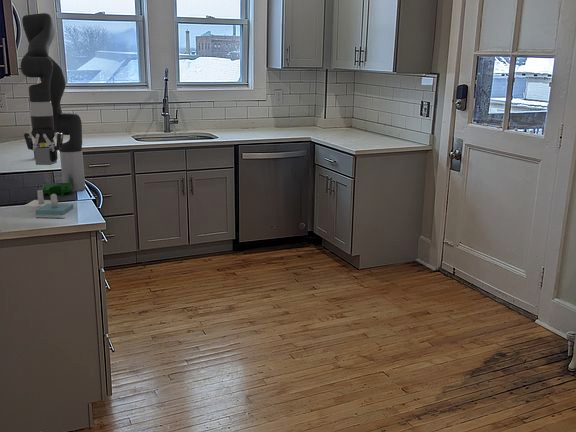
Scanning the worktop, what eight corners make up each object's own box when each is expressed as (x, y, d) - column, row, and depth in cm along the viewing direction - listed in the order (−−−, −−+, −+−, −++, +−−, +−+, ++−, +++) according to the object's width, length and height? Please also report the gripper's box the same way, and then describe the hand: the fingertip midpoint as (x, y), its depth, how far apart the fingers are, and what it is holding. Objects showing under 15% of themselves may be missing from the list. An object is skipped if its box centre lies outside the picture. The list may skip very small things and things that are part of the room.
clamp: (49, 209, 248) (36, 191, 243) (51, 202, 253) (39, 185, 248) (75, 198, 247) (63, 180, 243) (77, 191, 252) (65, 174, 248)
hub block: (48, 211, 227) (46, 190, 225) (74, 211, 227) (72, 190, 225) (36, 218, 218) (33, 196, 216) (63, 218, 217) (61, 197, 215)
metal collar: (42, 162, 221) (41, 146, 219) (56, 162, 220) (55, 146, 219) (35, 164, 215) (34, 148, 214) (50, 165, 215) (48, 148, 214)
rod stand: (34, 203, 239) (33, 187, 237) (59, 203, 238) (57, 187, 237) (23, 209, 229) (21, 193, 228) (48, 210, 229) (46, 193, 227)
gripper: (65, 113, 217) (69, 160, 221) (27, 113, 218) (32, 159, 222) (56, 115, 209) (61, 163, 214) (17, 115, 210) (22, 162, 215)
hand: (46, 161), depth 218 cm, fingers closed on metal collar, 5 cm apart
